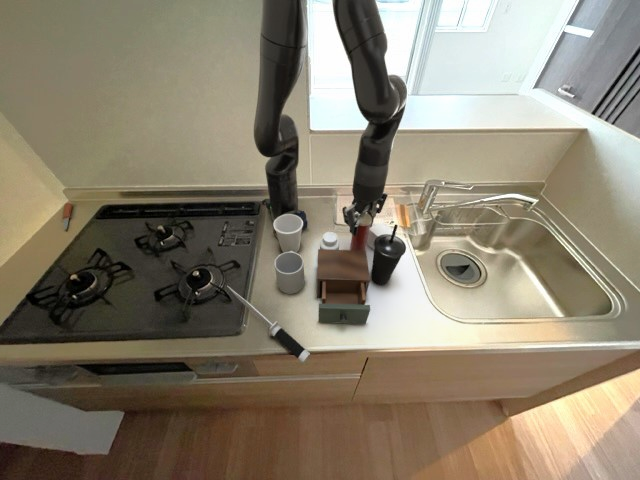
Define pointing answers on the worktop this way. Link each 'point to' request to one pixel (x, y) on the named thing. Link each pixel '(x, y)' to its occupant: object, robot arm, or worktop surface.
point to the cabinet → (342, 267)
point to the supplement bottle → (329, 241)
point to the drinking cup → (386, 256)
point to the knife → (278, 332)
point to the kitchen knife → (66, 214)
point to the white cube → (378, 232)
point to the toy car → (299, 214)
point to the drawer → (343, 303)
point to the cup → (289, 272)
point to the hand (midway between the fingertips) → (360, 229)
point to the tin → (361, 234)
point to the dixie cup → (288, 232)
